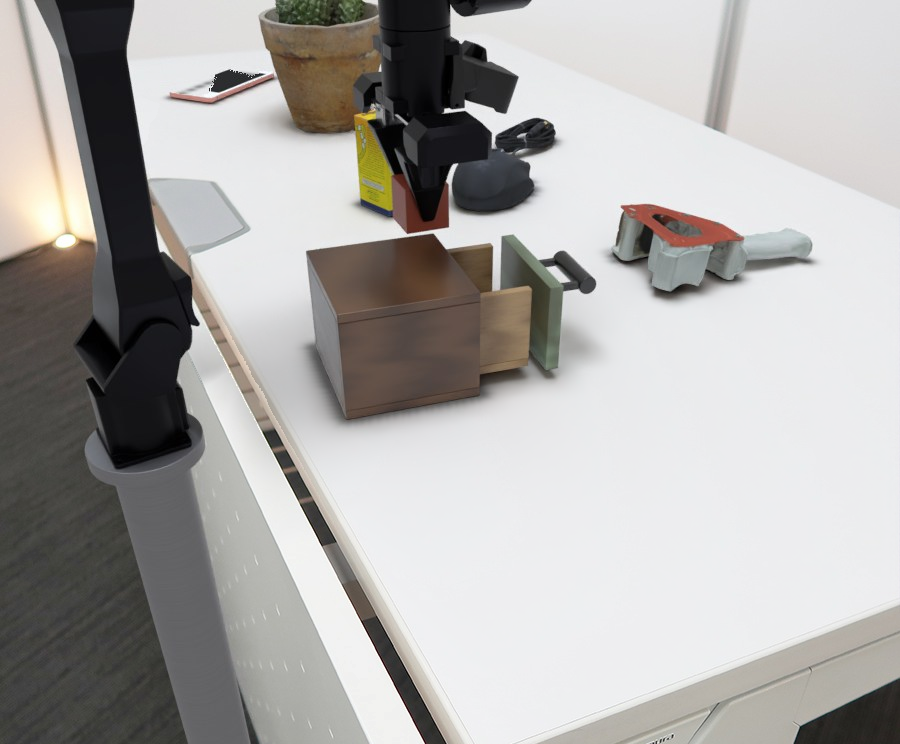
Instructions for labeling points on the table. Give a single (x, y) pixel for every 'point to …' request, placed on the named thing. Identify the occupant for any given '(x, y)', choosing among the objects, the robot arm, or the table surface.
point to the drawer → (520, 302)
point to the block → (408, 212)
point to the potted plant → (321, 57)
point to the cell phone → (228, 85)
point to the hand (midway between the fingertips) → (420, 212)
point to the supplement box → (372, 168)
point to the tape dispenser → (696, 245)
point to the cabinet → (395, 324)
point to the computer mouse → (501, 169)
